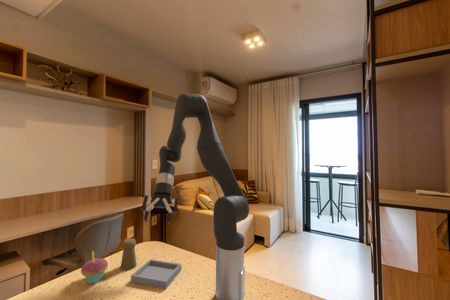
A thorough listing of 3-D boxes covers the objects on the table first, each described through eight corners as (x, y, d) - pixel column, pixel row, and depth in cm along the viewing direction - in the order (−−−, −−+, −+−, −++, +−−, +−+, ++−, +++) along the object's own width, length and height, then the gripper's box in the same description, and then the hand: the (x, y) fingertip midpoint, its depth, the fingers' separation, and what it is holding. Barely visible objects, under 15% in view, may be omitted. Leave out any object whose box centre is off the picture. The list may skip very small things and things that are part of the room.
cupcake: (104, 284, 76) (104, 250, 76) (76, 288, 74) (76, 253, 74) (110, 271, 84) (110, 240, 84) (85, 274, 82) (86, 243, 82)
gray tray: (181, 270, 86) (181, 263, 86) (166, 289, 74) (166, 281, 74) (150, 265, 89) (150, 259, 89) (131, 282, 77) (131, 275, 77)
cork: (130, 271, 84) (131, 243, 84) (117, 269, 86) (117, 241, 86) (139, 263, 90) (140, 237, 90) (126, 261, 92) (127, 235, 92)
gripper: (146, 179, 91) (137, 218, 82) (180, 183, 94) (175, 221, 85) (148, 186, 98) (139, 223, 89) (180, 190, 100) (174, 225, 91)
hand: (157, 222), depth 87 cm, fingers open, 8 cm apart
